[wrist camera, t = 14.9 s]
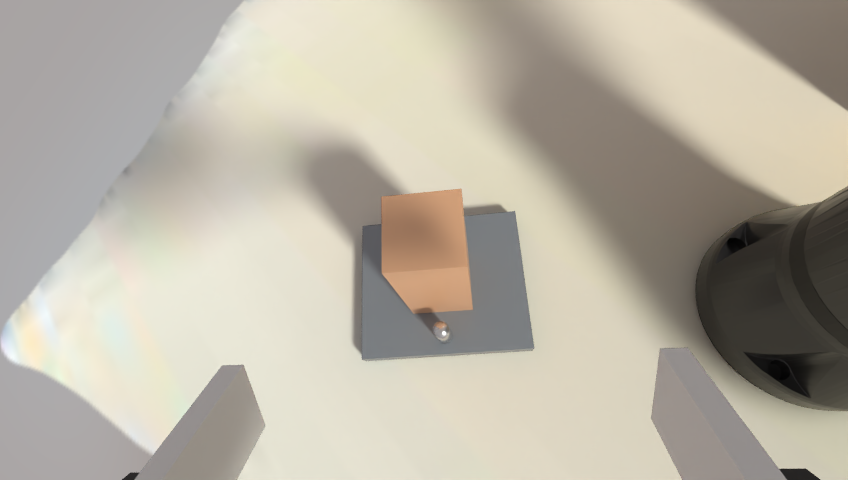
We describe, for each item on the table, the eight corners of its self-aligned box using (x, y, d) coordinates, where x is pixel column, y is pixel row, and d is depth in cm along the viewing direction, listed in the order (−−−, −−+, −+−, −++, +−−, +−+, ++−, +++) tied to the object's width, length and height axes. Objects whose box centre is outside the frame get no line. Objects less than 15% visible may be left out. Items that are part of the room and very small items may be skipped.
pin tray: (513, 218, 39) (517, 193, 35) (532, 350, 35) (539, 342, 30) (366, 232, 41) (351, 210, 36) (366, 360, 36) (349, 354, 32)
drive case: (468, 253, 37) (461, 188, 26) (473, 309, 35) (467, 266, 24) (411, 257, 38) (381, 196, 26) (413, 313, 36) (381, 273, 25)
